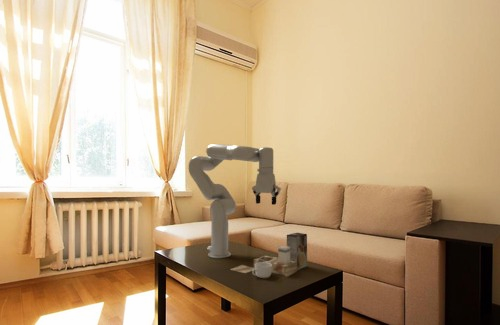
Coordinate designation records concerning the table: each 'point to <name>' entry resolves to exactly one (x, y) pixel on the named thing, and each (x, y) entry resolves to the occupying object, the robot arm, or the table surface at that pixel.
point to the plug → (284, 255)
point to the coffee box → (298, 248)
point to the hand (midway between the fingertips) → (265, 203)
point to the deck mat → (243, 269)
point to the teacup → (263, 269)
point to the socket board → (278, 265)
